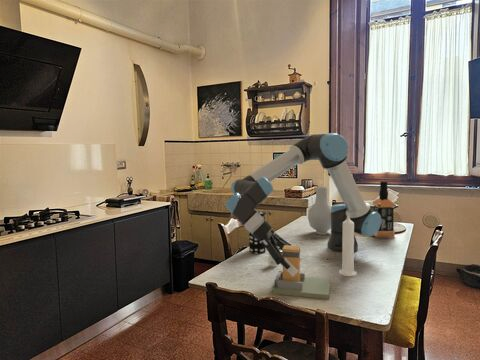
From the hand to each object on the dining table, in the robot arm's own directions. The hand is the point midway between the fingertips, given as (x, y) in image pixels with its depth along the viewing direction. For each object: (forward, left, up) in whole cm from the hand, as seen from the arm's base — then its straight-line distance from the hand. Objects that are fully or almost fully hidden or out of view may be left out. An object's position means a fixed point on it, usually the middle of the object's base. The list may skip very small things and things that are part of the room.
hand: (297, 267), depth 131 cm
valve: (-2, -28, -8) cm, 30 cm away
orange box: (+2, -1, -6) cm, 7 cm away
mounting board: (-1, +1, -8) cm, 8 cm away
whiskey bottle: (-75, -53, -8) cm, 93 cm away
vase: (-45, -70, -8) cm, 84 cm away
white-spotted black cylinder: (+2, -48, -8) cm, 48 cm away
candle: (-25, -7, -8) cm, 28 cm away
